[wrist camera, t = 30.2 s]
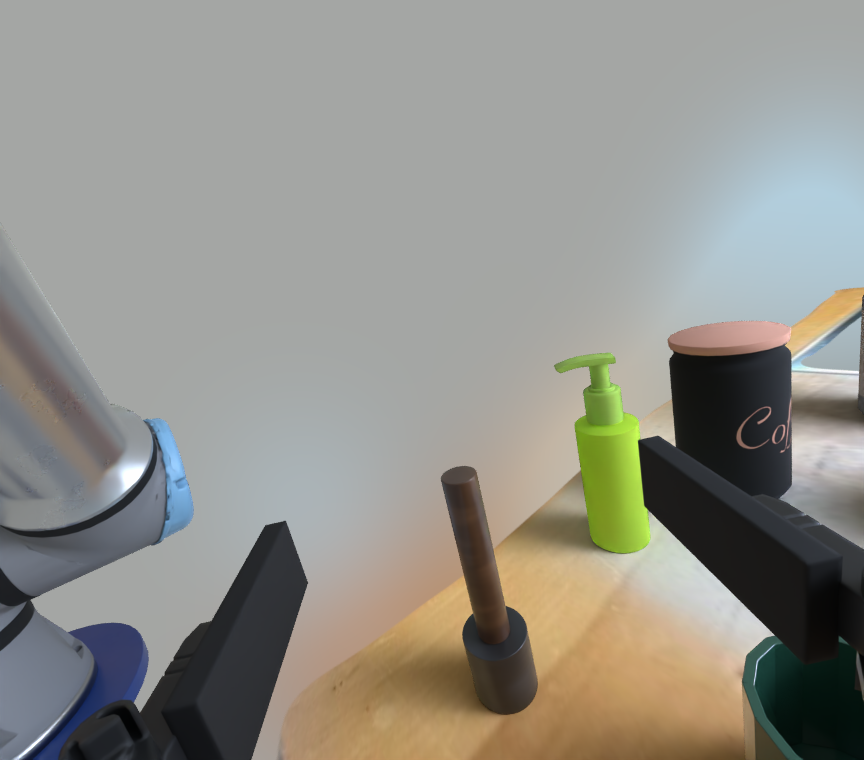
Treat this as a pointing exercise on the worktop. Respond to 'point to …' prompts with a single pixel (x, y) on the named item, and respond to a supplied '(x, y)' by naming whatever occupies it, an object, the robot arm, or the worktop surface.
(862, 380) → the liquor
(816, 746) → the teal faceted cup
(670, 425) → the worktop surface
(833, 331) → the worktop surface
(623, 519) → the soap dispenser
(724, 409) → the coffee jar
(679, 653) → the worktop surface
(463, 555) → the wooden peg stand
